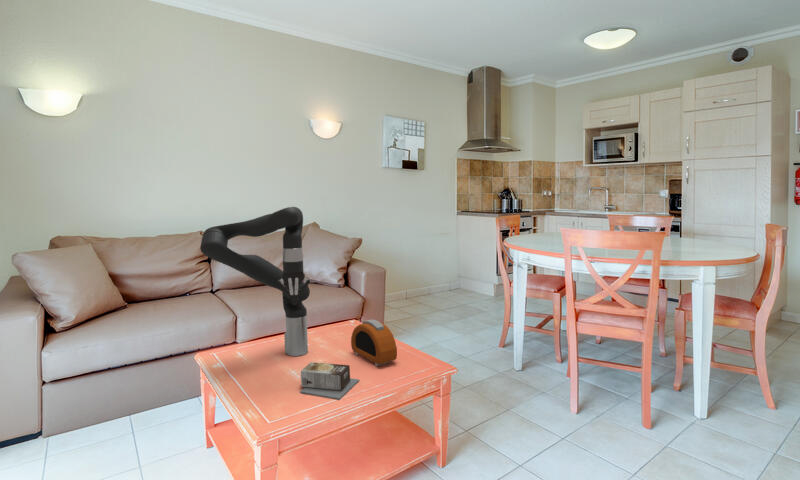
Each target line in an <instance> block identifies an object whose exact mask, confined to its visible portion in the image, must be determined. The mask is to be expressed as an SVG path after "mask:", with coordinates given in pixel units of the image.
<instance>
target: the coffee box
mask: <svg viewBox="0 0 800 480" xmlns="http://www.w3.org/2000/svg"><path fill="white" fill-rule="evenodd" d="M350 370H351V369H350V364H349V365H348V364H341V363H340V364H337V363H336V364H335V363H326V362H316V361H315V362H313V361H311V362H309V363H308V364H307V365H306V366H304V367H303V368H302V369H301V370H300V387H303V388H305V387H312V388H321V389H331V390H341V391H342V390H343V389H344V387H345V386H346V385H347V384H348V383H349V382H350V378H351V371H350Z"/></svg>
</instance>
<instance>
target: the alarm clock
mask: <svg viewBox="0 0 800 480" xmlns="http://www.w3.org/2000/svg"><path fill="white" fill-rule="evenodd" d="M350 345H351V346H350V347H351V350H352V352H354V353H355V355H356V356H359V355H360V356H361V357H364V358H365V359H367V360H369V361H370V362H372V363H375V364H374V365H375V366H376V367H378V366H382V365H385V364H388V363H391V362H393V361H395V360H396V359H397V358H398V357H397V356H398V347H397V344H396V340H395V337H394V334H393V333H392V332H391V330H390V328H389V327H388V326H387V325H386V324H384V323H383V322H381V321H378V320H377V319H368V320H367V319H366V320H363V321H362V323H361V324H358V325H356V326H355V327H354V329H353V331H352V333H351V337H350Z"/></svg>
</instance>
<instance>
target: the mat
mask: <svg viewBox="0 0 800 480" xmlns="http://www.w3.org/2000/svg"><path fill="white" fill-rule="evenodd" d="M359 382H360V379H358V378H351V377H350V382H349V383H348V384H347V385H346V386H345V387H344V389H343V390H342V391H341V390H331V389H321V388H312V387H303V388H302V389H301V390H300V391H299V393H300V394H304V395H309V396H316V397H322V398H327V399H332V400H339V401H340V400H341V399H343V397H344V396H345V395H347V394H348V393H349V392H350V391H351V389H353V387H355V386H356V385H357V384H358V383H359Z"/></svg>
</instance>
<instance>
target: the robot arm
mask: <svg viewBox="0 0 800 480" xmlns="http://www.w3.org/2000/svg"><path fill="white" fill-rule="evenodd" d="M303 227H304V215H303V212H302V210H301V209H300V208H299V207H297V206H287V207H284V208H282V209H279V210H277V211H275V212H272V213H269V214H264V215H262V216H258V217H255V218H253V219H249V220H244V221H239V222H234V223H227V224H221V225H216V226H211V227H208V228H207V229H205V230H204V232H203V234H202V237H201V241H200V246H199V247H200V252H201V253H202V254H203V255H204V256H205V257H207V258H209V259H210V260H213V261H216V262H217V263H221V264H223V265H224V266H225V265H226V266H228V267H229V268H232V269H233V270H236V271H237V272H240V273H242V274H244V275H245V276H247V277H249V278H251V279H252V280H254V281H256V282H258V283H259V284H260V283H261V284H263V285H265V286H268V287H270V288H273V289H276V290H279V291H281V293H282V294H281V295H282V307H283V310H284V314H285V332H284V333H283V334H284V354H285V355H286V354H287V355H288V356H290V357H299V356H304V355H306V354H308V353H309V345H308V342H309V341H308V339H309V338H308V313H307V307H306V306H305V305H304V303H303V302H304V301H306V300H307V299H308V298H309V296H310V294H311V292H310V290H311V289H310V287H309V284H310V283H311V279H310V278H307V277H306V275H305V273H304V253H303V239H302V233H303ZM282 229H285V230H284V233H283V235H282V269H280V267H278V266H276V265H274V264H273V263H271V262H270V261H269V260H266V259H265V258H263V256H262V257H261V256H260V255H257V254H241V253H238V252H236V251H234V250H232V249H230V247H228V242H229V240H231V239H233V238H236V237H239V236H240V237H241V236H246V237H253V238H256V237H262V236H266V235H269V234H272V233H275V232H277V231H278V230H282Z"/></svg>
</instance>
